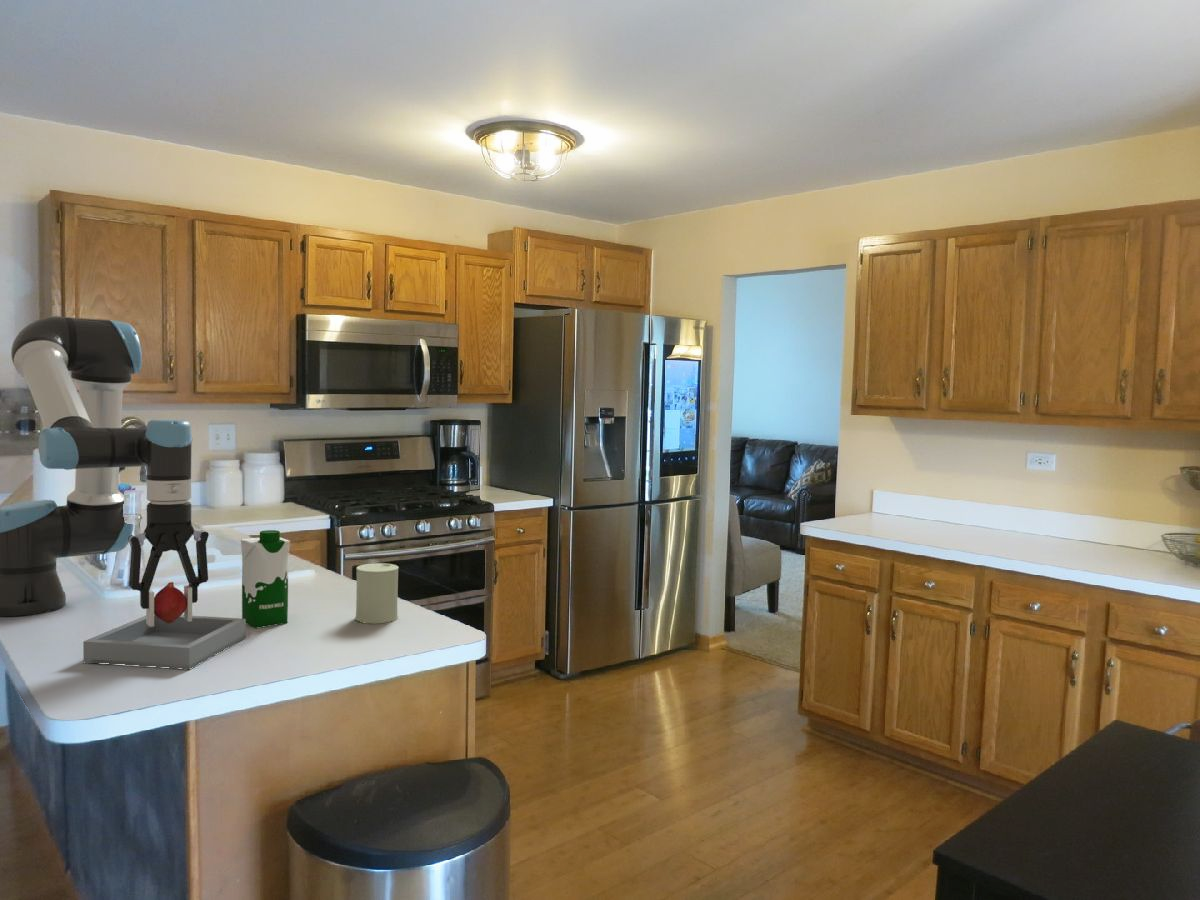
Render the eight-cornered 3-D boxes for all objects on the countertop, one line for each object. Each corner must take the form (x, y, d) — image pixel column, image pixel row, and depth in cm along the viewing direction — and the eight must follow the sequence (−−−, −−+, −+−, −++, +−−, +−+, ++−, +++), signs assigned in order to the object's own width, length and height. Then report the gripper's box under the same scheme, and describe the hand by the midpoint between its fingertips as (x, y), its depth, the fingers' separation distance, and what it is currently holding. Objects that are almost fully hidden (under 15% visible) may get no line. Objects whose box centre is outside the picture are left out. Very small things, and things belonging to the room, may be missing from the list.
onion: (151, 628, 158) (152, 586, 157) (152, 621, 163) (152, 580, 163) (186, 625, 161) (187, 584, 160) (185, 618, 166) (186, 578, 165)
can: (406, 616, 192) (407, 564, 191) (379, 626, 183) (380, 571, 183) (374, 611, 196) (374, 559, 195) (346, 620, 187) (347, 566, 187)
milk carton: (252, 630, 177) (253, 535, 176) (235, 620, 184) (236, 529, 182) (293, 623, 183) (294, 531, 182) (275, 614, 190) (276, 525, 188)
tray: (83, 663, 153) (83, 641, 153) (151, 632, 173) (151, 613, 173) (189, 670, 151) (189, 647, 151) (245, 638, 171) (245, 618, 171)
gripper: (116, 506, 151) (117, 634, 153) (227, 501, 164) (227, 619, 165) (108, 502, 157) (109, 625, 159) (216, 496, 169) (215, 611, 171)
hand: (169, 622), depth 162 cm, fingers closed on onion, 6 cm apart
